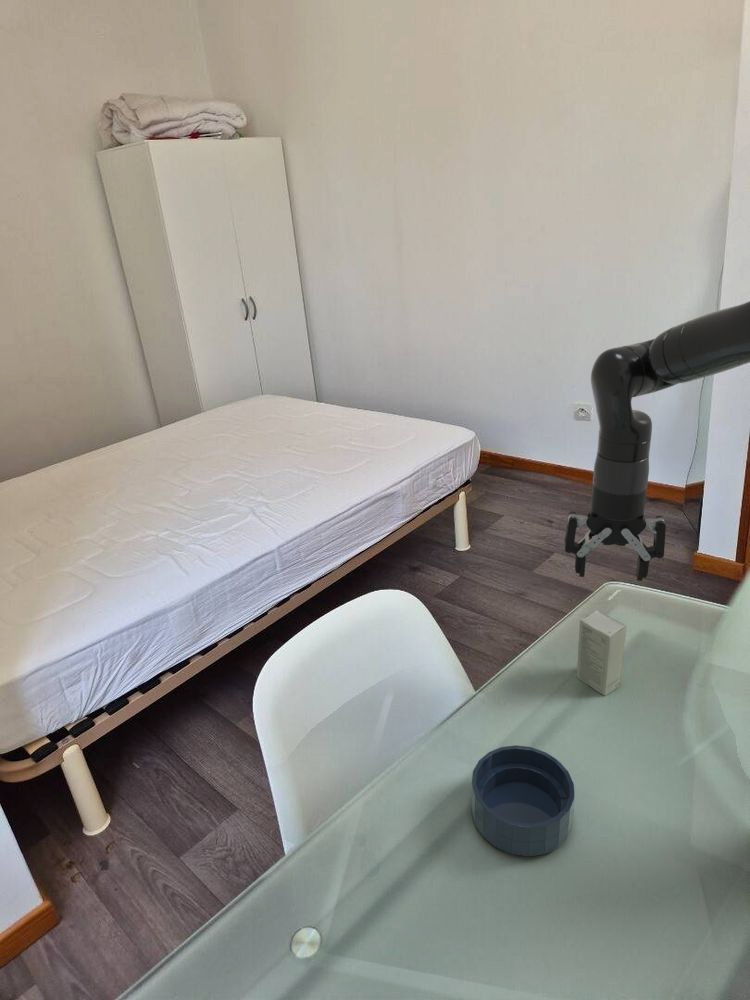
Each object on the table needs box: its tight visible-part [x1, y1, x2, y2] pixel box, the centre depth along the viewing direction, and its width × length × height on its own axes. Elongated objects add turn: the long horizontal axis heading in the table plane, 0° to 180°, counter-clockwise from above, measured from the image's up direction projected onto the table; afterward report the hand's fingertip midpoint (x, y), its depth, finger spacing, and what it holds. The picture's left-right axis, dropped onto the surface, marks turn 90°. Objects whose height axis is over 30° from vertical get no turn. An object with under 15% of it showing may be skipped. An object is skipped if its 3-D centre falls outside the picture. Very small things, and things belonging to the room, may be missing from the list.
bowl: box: [470, 745, 575, 857], centre depth 92 cm, size 13×13×6 cm
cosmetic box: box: [576, 609, 627, 696], centre depth 113 cm, size 6×4×12 cm
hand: (610, 576), depth 107 cm, fingers open, 8 cm apart
